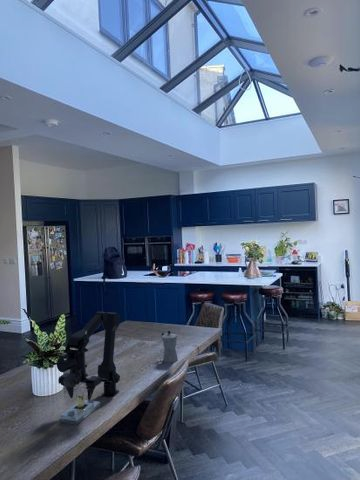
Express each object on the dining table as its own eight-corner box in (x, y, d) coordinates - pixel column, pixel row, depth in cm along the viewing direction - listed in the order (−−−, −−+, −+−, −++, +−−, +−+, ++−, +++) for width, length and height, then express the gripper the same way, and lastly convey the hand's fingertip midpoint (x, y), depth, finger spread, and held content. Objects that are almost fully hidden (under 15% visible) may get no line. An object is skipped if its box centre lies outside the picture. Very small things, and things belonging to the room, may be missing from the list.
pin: (80, 411, 167) (79, 393, 167) (86, 412, 166) (85, 394, 166) (76, 414, 164) (75, 396, 164) (82, 415, 163) (81, 397, 163)
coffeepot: (182, 361, 225) (181, 331, 225) (169, 365, 220) (168, 334, 220) (169, 354, 238) (168, 326, 238) (156, 358, 233) (155, 329, 233)
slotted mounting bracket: (85, 403, 175) (85, 395, 175) (100, 405, 172) (100, 397, 172) (60, 421, 158) (60, 413, 158) (76, 424, 155) (75, 416, 155)
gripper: (49, 368, 160) (50, 404, 161) (85, 372, 154) (87, 410, 154) (65, 360, 171) (67, 393, 171) (100, 363, 164) (102, 398, 165)
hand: (80, 399), depth 165 cm, fingers open, 9 cm apart
